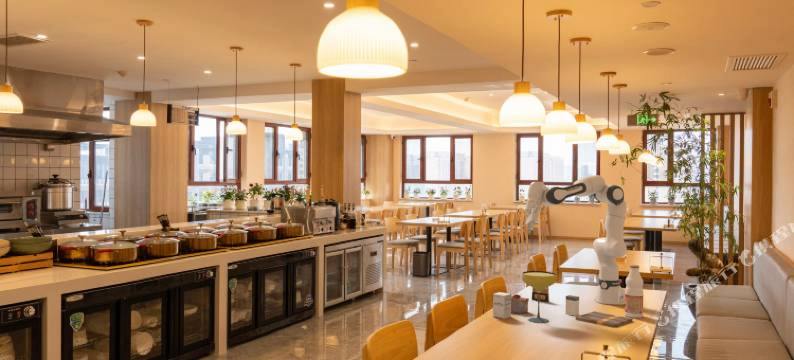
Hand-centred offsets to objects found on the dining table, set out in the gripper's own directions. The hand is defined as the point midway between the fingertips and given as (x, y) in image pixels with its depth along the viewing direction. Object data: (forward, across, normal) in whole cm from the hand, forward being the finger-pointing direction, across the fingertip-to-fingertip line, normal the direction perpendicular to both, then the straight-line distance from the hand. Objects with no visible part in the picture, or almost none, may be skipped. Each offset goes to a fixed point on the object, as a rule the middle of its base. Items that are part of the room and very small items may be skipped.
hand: (530, 231), depth 361 cm
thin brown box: (+37, +28, -16) cm, 49 cm away
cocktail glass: (+50, -22, -7) cm, 55 cm away
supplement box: (+52, -15, +11) cm, 55 cm away
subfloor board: (+44, -19, -42) cm, 63 cm away
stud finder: (+43, -6, -28) cm, 52 cm away
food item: (+47, -2, +2) cm, 47 cm away
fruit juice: (+38, -7, -61) cm, 72 cm away
